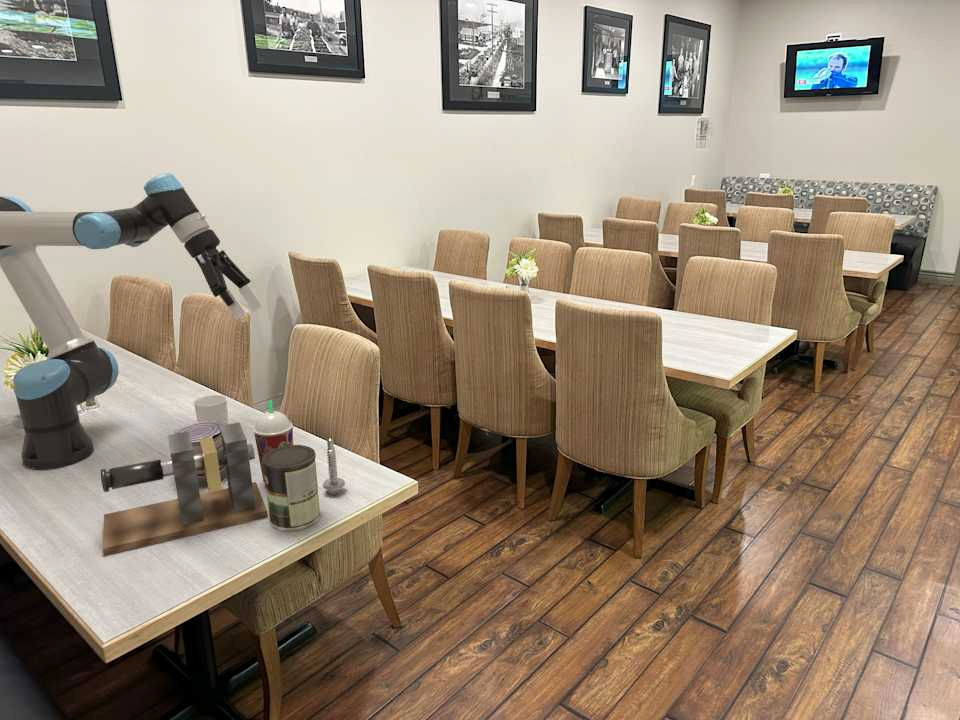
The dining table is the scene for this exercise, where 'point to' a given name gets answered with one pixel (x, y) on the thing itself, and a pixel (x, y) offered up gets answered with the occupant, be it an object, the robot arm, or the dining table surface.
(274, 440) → the smoothie
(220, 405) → the white cup
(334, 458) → the screw
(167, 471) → the shaft
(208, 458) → the collar
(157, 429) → the dining table surface
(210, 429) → the can
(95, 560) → the dining table surface
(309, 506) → the coffee can
